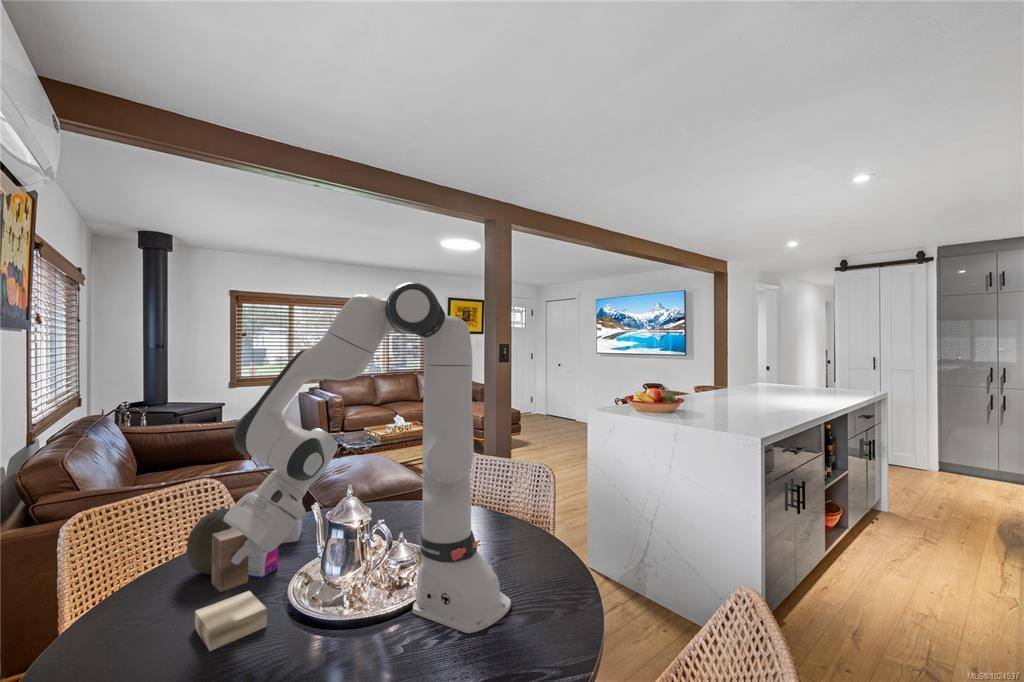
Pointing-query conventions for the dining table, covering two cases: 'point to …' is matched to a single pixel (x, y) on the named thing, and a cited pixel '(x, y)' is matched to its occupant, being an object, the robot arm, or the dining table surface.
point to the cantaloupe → (205, 540)
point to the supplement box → (262, 562)
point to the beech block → (230, 620)
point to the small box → (294, 532)
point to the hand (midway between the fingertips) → (226, 557)
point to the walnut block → (222, 567)
